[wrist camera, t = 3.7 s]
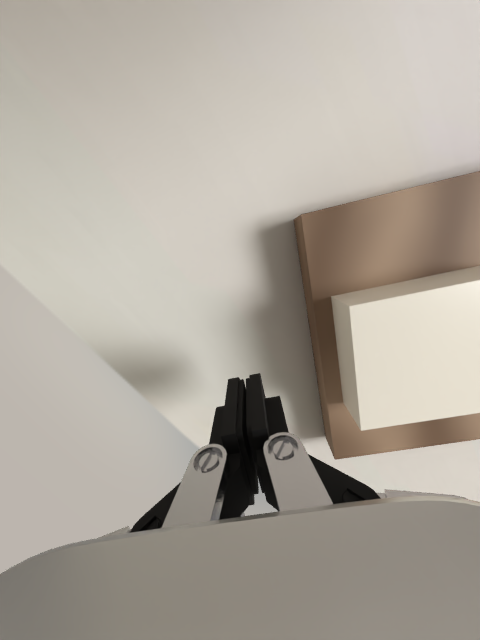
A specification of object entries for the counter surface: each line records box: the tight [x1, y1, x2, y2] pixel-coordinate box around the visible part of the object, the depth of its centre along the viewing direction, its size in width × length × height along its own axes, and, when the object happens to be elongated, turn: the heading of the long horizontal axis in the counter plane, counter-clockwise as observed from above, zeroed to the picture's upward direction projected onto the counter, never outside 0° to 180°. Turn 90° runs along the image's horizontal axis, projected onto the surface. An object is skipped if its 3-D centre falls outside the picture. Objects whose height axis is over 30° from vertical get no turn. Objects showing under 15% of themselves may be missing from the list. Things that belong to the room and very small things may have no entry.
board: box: [294, 171, 480, 459], centre depth 14 cm, size 14×16×2 cm
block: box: [331, 266, 480, 431], centre depth 12 cm, size 8×7×2 cm
